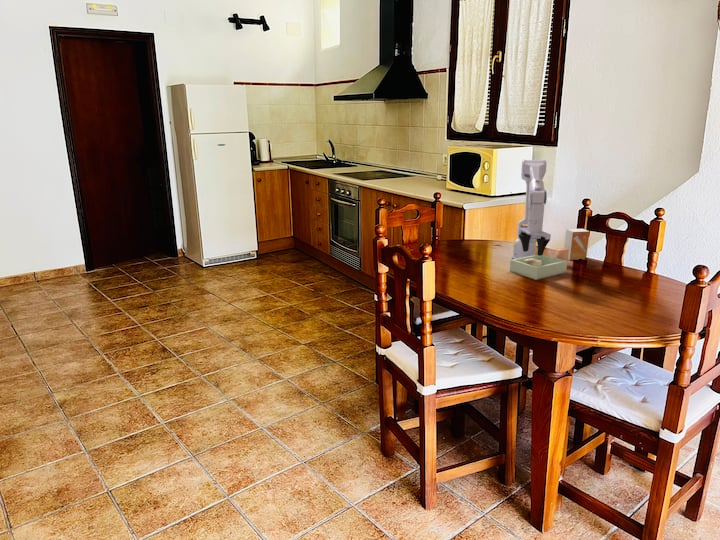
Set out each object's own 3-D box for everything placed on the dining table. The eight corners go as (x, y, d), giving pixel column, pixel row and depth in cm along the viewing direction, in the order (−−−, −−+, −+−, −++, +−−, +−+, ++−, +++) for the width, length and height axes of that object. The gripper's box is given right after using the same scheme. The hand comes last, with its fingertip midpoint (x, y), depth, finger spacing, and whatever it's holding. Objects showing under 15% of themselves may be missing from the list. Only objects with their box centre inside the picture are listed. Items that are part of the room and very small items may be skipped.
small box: (569, 260, 242) (572, 231, 238) (562, 256, 248) (565, 228, 244) (586, 259, 243) (589, 231, 239) (579, 255, 249) (582, 228, 245)
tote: (509, 271, 226) (510, 259, 225) (539, 264, 235) (540, 253, 234) (536, 279, 215) (537, 267, 214) (566, 272, 224) (567, 261, 222)
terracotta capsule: (552, 264, 236) (554, 248, 234) (560, 262, 239) (561, 247, 236) (562, 267, 232) (563, 251, 230) (569, 265, 234) (571, 249, 232)
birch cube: (522, 271, 224) (523, 259, 223) (531, 269, 226) (532, 258, 225) (532, 274, 220) (533, 262, 218) (540, 272, 222) (541, 260, 221)
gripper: (514, 218, 221) (512, 250, 225) (543, 224, 209) (540, 258, 213) (526, 216, 224) (524, 248, 228) (555, 222, 212) (552, 256, 216)
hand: (532, 253), depth 221 cm, fingers open, 7 cm apart
